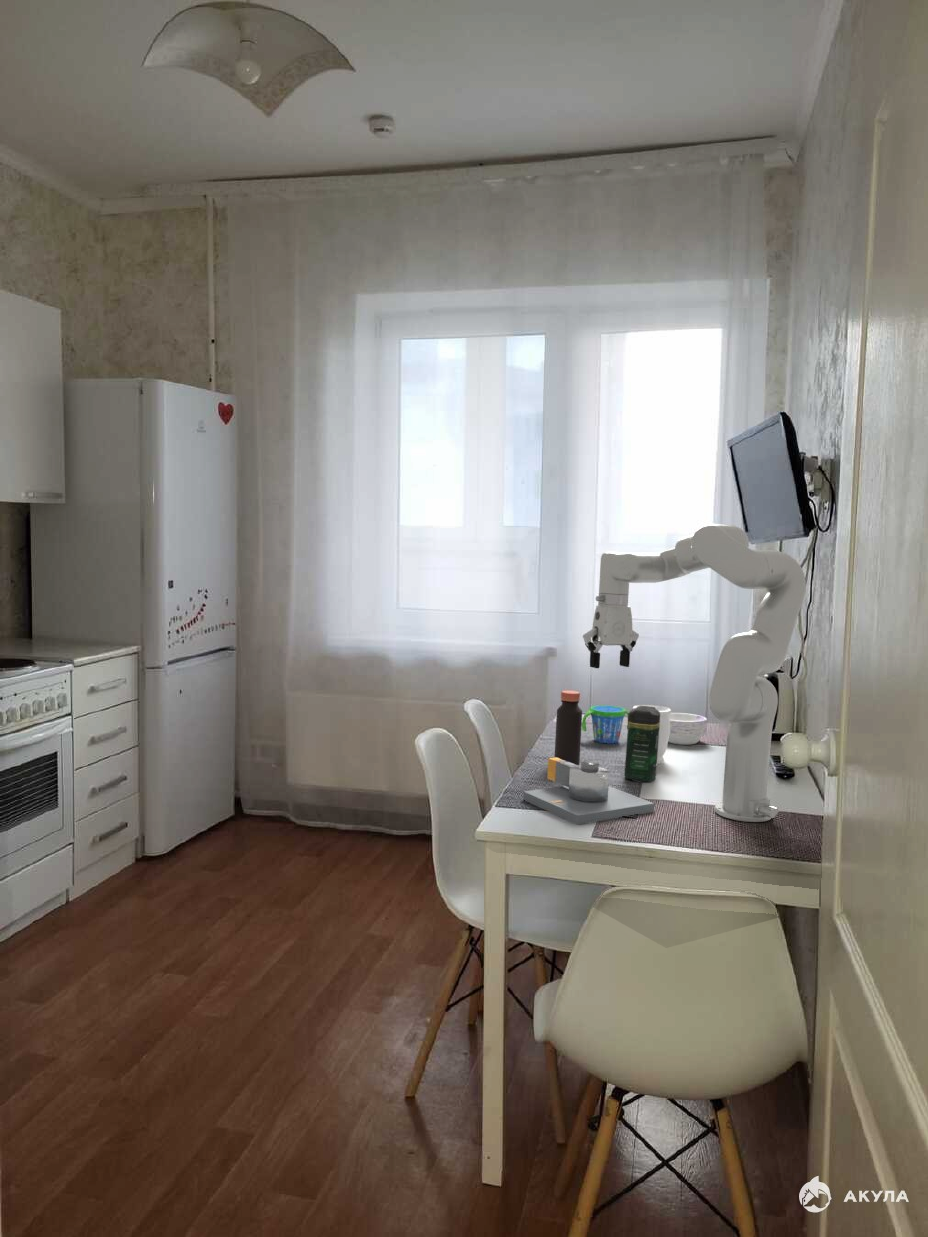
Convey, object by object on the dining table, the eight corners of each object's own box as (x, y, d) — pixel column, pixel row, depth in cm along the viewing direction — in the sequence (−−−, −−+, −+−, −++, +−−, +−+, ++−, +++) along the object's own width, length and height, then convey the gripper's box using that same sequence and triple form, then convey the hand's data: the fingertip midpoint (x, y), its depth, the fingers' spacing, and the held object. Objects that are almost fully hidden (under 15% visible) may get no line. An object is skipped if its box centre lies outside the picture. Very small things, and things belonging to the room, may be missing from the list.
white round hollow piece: (651, 735, 295) (653, 710, 294) (700, 737, 295) (701, 712, 294) (659, 746, 280) (661, 720, 279) (710, 748, 279) (712, 722, 279)
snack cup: (586, 745, 277) (588, 711, 276) (576, 737, 287) (578, 704, 286) (636, 745, 279) (638, 712, 278) (625, 737, 290) (627, 705, 289)
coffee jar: (653, 784, 236) (657, 711, 234) (621, 780, 238) (626, 708, 236) (658, 775, 245) (663, 705, 243) (628, 771, 247) (632, 702, 246)
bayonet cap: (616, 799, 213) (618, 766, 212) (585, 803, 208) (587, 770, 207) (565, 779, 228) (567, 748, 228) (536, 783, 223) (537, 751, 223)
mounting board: (653, 812, 212) (654, 803, 211) (577, 824, 200) (578, 815, 200) (596, 789, 228) (597, 781, 228) (523, 800, 217) (523, 791, 217)
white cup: (652, 767, 253) (655, 713, 252) (622, 759, 261) (625, 706, 259) (675, 762, 260) (679, 709, 259) (645, 755, 268) (648, 703, 266)
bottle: (553, 761, 255) (557, 689, 253) (578, 763, 255) (582, 690, 253) (554, 768, 248) (558, 693, 246) (580, 769, 248) (584, 694, 246)
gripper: (595, 601, 231) (591, 670, 233) (649, 601, 240) (645, 667, 242) (577, 599, 238) (573, 666, 239) (630, 599, 246) (626, 663, 248)
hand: (609, 666), depth 240 cm, fingers open, 9 cm apart
